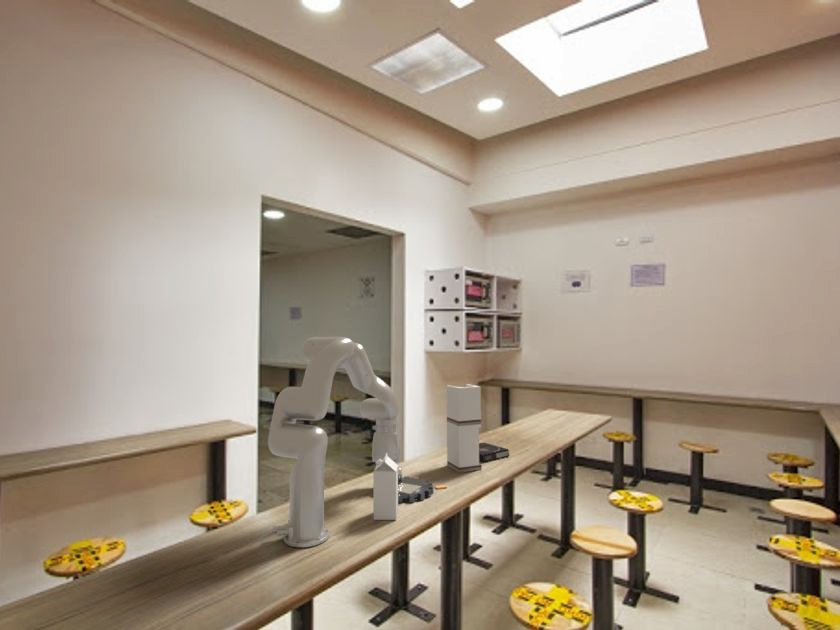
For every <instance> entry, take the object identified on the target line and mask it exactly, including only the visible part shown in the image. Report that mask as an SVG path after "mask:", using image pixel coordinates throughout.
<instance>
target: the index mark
mask: <svg viewBox="0 0 840 630" xmlns="http://www.w3.org/2000/svg"><path fill="white" fill-rule="evenodd" d="M434 488H435V490H442V489H443V488H444V489H447V488H448V487H447V485H445V484H442V485H434ZM444 489H443V490H444Z"/></svg>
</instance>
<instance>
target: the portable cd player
mask: <svg viewBox="0 0 840 630" xmlns="http://www.w3.org/2000/svg"><path fill="white" fill-rule="evenodd" d="M508 456H509V457H510V452H509V449H508V448H505V447H503V446H498V445H494V444H491V443H487V442H479V461H480V462H479V463H482V462H483V463H482V464H484V462H485V463H489V462H488V461H490V462H492V460H494V461H497V460H496V459H498V460H501V459H500V458H502V459H505V458H504V457H506V458H509V457H508Z"/></svg>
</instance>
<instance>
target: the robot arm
mask: <svg viewBox="0 0 840 630" xmlns="http://www.w3.org/2000/svg"><path fill="white" fill-rule="evenodd" d="M301 354H302V357H303V359H304V360H305V361H306V362H308V364H307V367H306V368H305V372H304V375H303V378H302V379H303V381H302V384H301V386H287V387H286V388H284V389H282V390H281V391H280V392H279V394H278V395H277V397H276V400H275V401H274V402H275V403H274V405H273V406H274V407H273V410H272V411H273V412H272V417H271V422H270V427H269V433H268V437H267V438H268V439H267V444H268V449H269V451H270V452H271V453H272V455H274V456H277V457H281V458H283V457H284V458H290V459H296V463H295V464H294V466H293V467H292V469H291V471H290V474H289V519H288V521H287V523H284V524H283V525H274V526H272V534H273V535H274V534H276V535H277V537H279V536H283V542H284V543H285V544H286V545H287V546H289V547H293V548H294V547H295V548H310V547H314V546H318V545H321V544H322V543H324V542H326V541H327V540H328V539H329V538H330V529H329V528H328V527H326V526H325V463H326V461H325V460H326V455H327V449H328V444H329V443H328V442H329V439H328V435H327V434H328V433H327V432H326V431H325V429H323V428H321V427H319V426H316V425H312V424H311V425H310V424H302V423H301V424H300V423H297V420H301V421H302V420H303V421H320V420H323V419H324V418H325V416H326V415H327V412H328V409H329V405H330V398H331V393H332V387H333V381H334V378H335V377H334V376H335V374H336V372H337V370H339V369H340V368H344V369H345V371H346V374H347V376H348V378H349V380H350V382H351V386H352V387H354V388H355V389H356V390H359V391H360V392H362V393H364V394H367V395H370V396H371V397H372V398H371V397H370V398H366V399H364V400H362V402H361V403H360V405H359V412H360V415H361V416H362V417H363V418H365V419H369V420H375V425H372V430H374V432H373V437H372V444H371V445H372V447H371V448H372V449H371V456H372V459H371V462H373V463H375V464H376V462H377V461H378V460H379V459H381V460H383V459H384V458H385V456H386V453H387V456H388V457H389V458H390V459H391V460H393V461H394V462H395V463H396V464H399V463H400V462H401V457H400V453H401V452H400V439H399V432H397V428H396V427H397V421H396V420H397V417H398V416H399V412H400V410H399V402H398V400H397V397H396V394H395V392H394V391H393V389H392V388H391V387H390V385H389V384H387V383H386V382H385V381H384V380H382V379H381V378H380V377H379V376H378V375H376V374H375V372H374V370H373V367H372V364H371V362H370V360H369V357H368V355H367V353H366V350H365V348H364V346H363V345H362V344H360V343H358V342H354V341H353V340H352V339H351V338H349V337H344V336H326V337H325V336H314V337H309V338H307V339H306V340H305V341H304V342H303V344H302V347H301Z"/></svg>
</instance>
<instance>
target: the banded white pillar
mask: <svg viewBox="0 0 840 630" xmlns="http://www.w3.org/2000/svg"><path fill="white" fill-rule="evenodd" d="M481 387H482V386H479V385H474V384H469V383H466V384H465V387H464V386H453V385H449V384H447V385H446V457H447V459H446V460H447V461H446V463H447V464H446V465H448V467H449V466H450V467H449V468H451V469H452V468H453V469H452V470H454V471H455V472H457V471H458V472H457V473H459V472H461V473H467V471H469V472H475V471H474V470H476V471H482V470H481V469H483V467H482V463H480V462H479V443H480V431H479V429H480V428H482V396H481V395H482V394H481V393H482V391H481V389H482V388H481Z"/></svg>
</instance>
